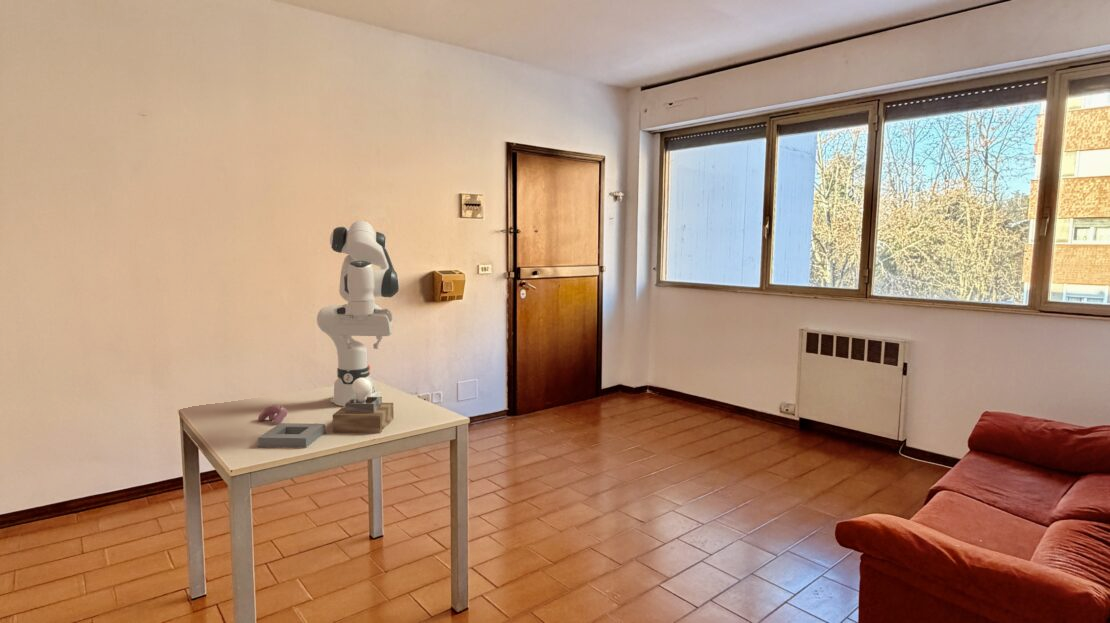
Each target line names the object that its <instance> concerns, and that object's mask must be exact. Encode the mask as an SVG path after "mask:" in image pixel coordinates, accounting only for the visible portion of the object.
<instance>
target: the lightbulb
mask: <svg viewBox="0 0 1110 623" xmlns="http://www.w3.org/2000/svg"><path fill="white" fill-rule="evenodd" d="M352 390H353V392H354V394H355V395H356V397H357V400H358V403H366V399H367V395H368V393H369V392H370V390H371V383H370V381H369V380H368V379H366V378H358V379H356V380H355V381H354V382H353V384H352Z"/></svg>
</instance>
